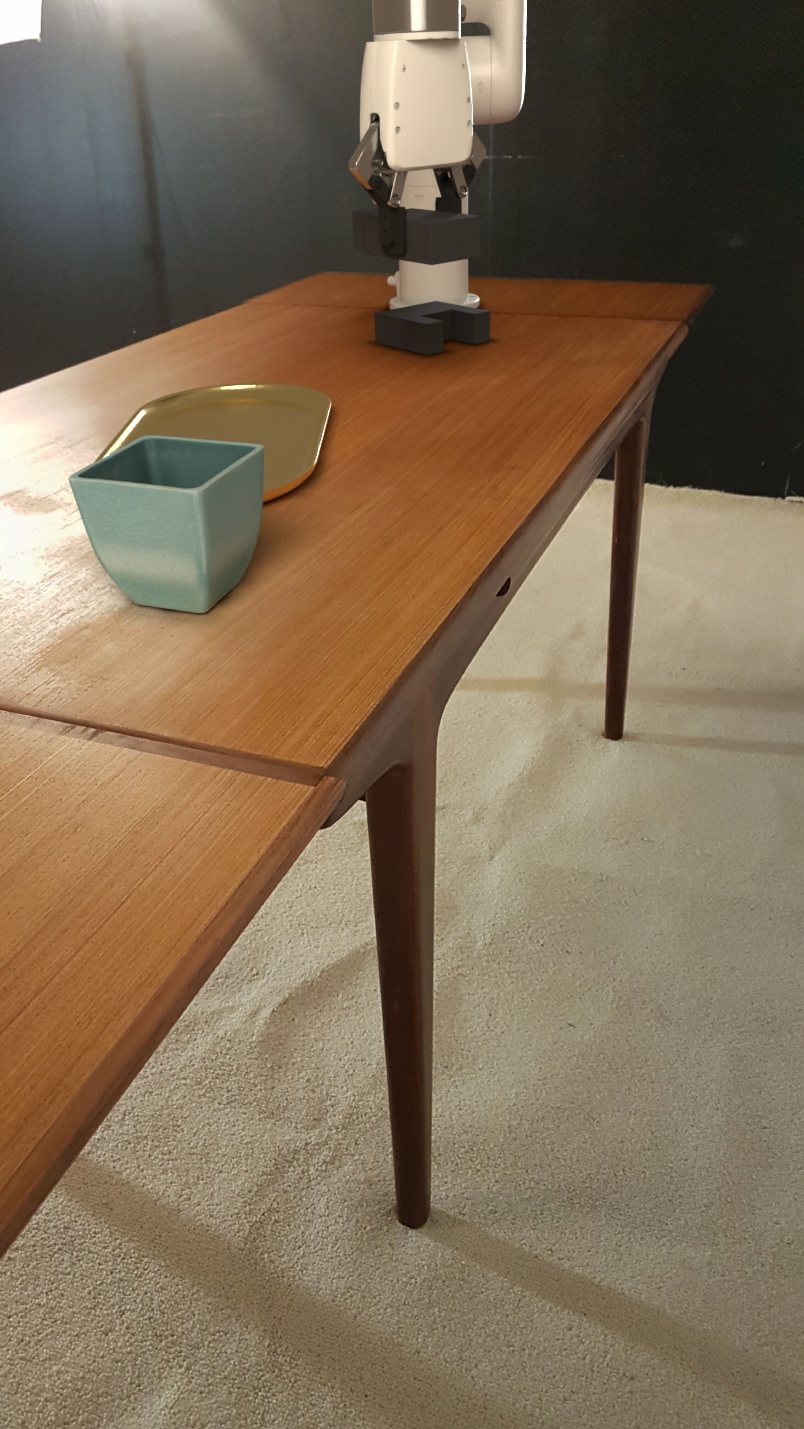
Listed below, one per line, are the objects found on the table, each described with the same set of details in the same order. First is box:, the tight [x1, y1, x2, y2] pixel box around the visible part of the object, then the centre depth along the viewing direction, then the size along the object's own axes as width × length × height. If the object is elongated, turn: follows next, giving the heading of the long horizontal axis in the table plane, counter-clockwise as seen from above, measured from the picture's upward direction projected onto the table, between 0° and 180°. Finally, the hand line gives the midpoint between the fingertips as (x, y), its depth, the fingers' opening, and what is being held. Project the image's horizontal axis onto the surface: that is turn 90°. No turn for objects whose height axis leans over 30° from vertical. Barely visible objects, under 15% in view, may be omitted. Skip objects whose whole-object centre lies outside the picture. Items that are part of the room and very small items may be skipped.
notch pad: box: [373, 301, 491, 356], centre depth 125 cm, size 10×10×4 cm
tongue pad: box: [351, 206, 482, 265], centre depth 98 cm, size 14×6×4 cm, turn 39°
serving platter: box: [93, 382, 332, 504], centre depth 91 cm, size 19×35×2 cm, turn 179°
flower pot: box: [67, 435, 264, 614], centre depth 64 cm, size 9×9×9 cm
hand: (421, 246), depth 97 cm, fingers closed on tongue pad, 6 cm apart
